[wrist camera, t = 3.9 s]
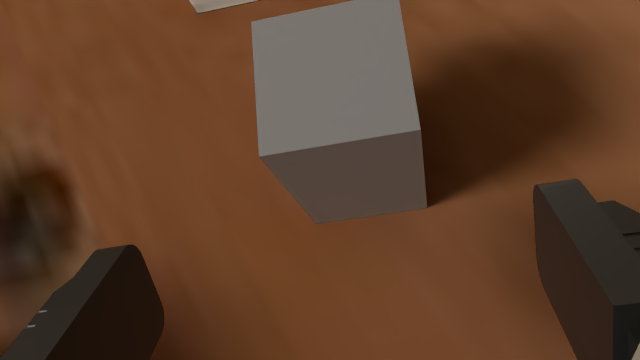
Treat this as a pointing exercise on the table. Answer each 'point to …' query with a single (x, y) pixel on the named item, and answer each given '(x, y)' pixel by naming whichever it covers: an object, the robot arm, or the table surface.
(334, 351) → the table surface
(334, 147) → the plug
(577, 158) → the table surface
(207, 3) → the parts tray
